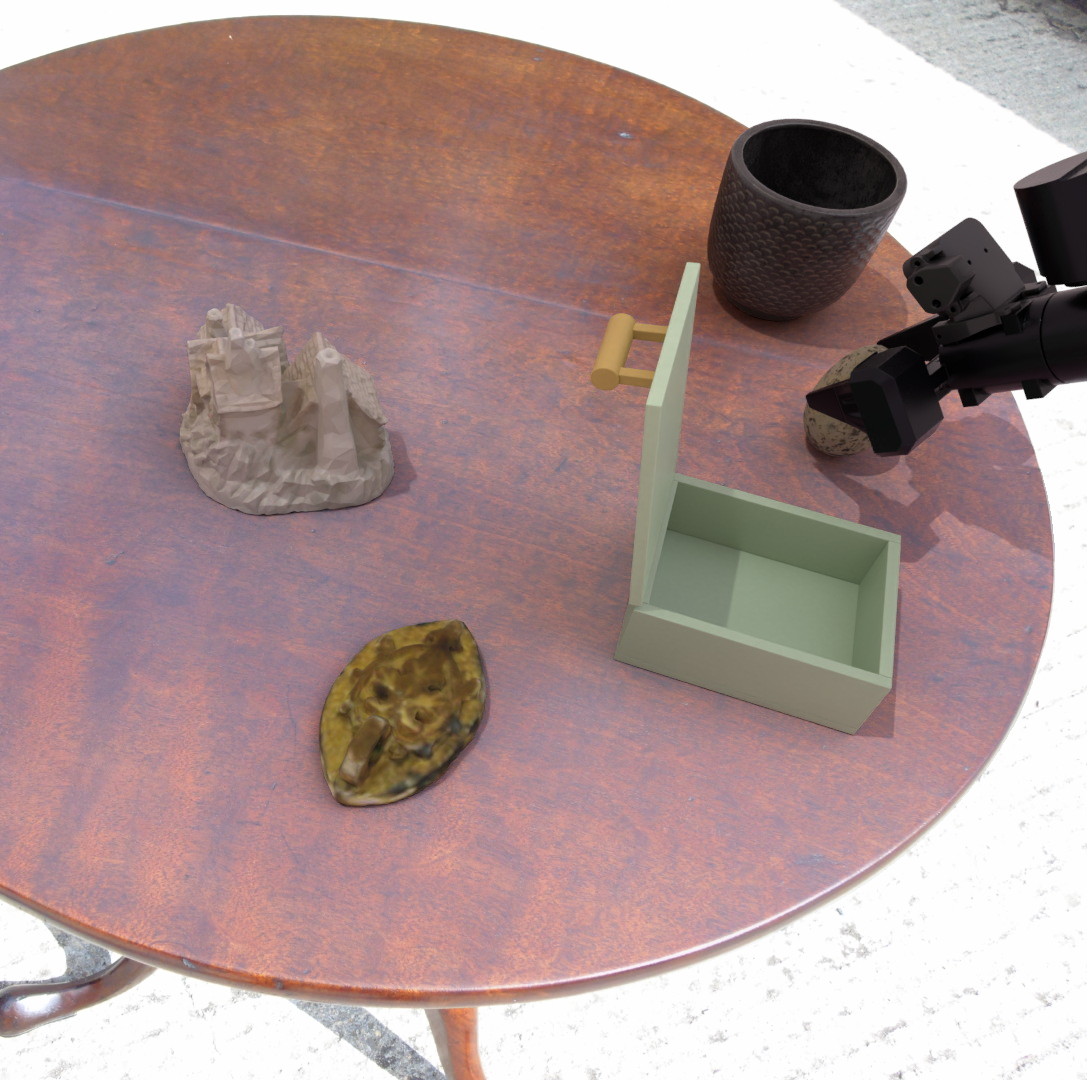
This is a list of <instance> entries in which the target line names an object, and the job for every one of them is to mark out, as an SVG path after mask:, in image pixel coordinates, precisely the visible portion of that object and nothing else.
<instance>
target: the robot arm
mask: <svg viewBox="0 0 1087 1080" xmlns="http://www.w3.org/2000/svg"><path fill="white" fill-rule="evenodd" d="M1012 188H1013V191H1014V195H1015V198H1016V201H1017V204H1018V207H1019V210H1020V214H1021V217H1022V220H1023V223H1024V228H1025V230H1026V233H1027V237H1028V240H1029V243H1030V246H1031V250H1032V252H1033V253H1032V254H1033V256H1034V259H1035V263H1036V265H1037V268H1038V272H1039V275H1040V276H1041V277H1043V278H1045V280H1040V281H1038V279H1037V275H1036V273H1035V270H1034V269H1032V268H1030V267H1029V266H1027V265H1024V264H1023V263H1021V262H1019V261H1017V260H1016V261H1012V260H1011V259H1010V257H1009V256H1008V255H1007V253H1006V252H1005V251H1004V250H1003V249H1002V247H1001V246H1000V245H999V243H998V242H997V241H996V239H995V238H994V237H993V235H992V234H991V233H990V232H989V230H988V229H987V228H986V226H985V225H984V224H983V223H982V222H981V221H980V220H979V219H976V218H974V217H966V218H964V219H963V220H961V221H960V222H958V223H957V224H956V225H954V226H952V228H951V227H950V229H948V230H947V231H946V232H944V233H943V234H942V235H940V236H938V237H937V238H936V239H934V240H933V241H931V242H930V243H929V244H927V245H926V246H924V247H923V248H921V249H920V250H919V251H917V252H916V253H914V254H913V255H912V256H910V257H909V258H907V259H906V260H905V261H903V264H902V274H903V276H904V278H905V279H906V282H905V283H906V284H905V286H906V289H907V291H908V292H909V293H910V295H911V296H912V297H913V298H914V300H915V301H916V302H917V303H918V305H919V306H920V307H921V309H922V310H923V311H924V312H925V313H926V314H930V315H931V316H930V317H927V318H924V319H923V320H920V321H918V322H916V323H914V324H912V325H910V326H907V327H905V328H903V329H901V330H899V331H896V332H894V333H892V334H889V335H887V336H885V337H884V338H881V339H879V340H878V341H877V342H876V343H875V345H881V346H884V347H886V348H888V350H885V351H883V352H880V353H878V352H877V351H876V352H874V353H873V354H872V355H870V356H869V357H868V358H866V359H865V360H864V361H862V362H861V363H859V364H858V365H857V366H856V367H855V368H854V369H853V371H852V372H851V375H850V378H849V379H846V380H843V381H840V382H837V383H834V384H831V385H828V386H825V387H823V388H820V389H817V390H815V391H812V390H811V391H810V392H807V394H805V400H806V402H807V403H808V405H809V407H810V408H811V409H813V410H816V411H818V412H820V413H823V414H825V415H827V416H830V417H832V418H834V419H837V420H839V421H841V422H844V423H846V424H848V425H850V426H852V427H855V428H857V429H858V430H860V431H862V432H864V433H866V434H867V435H868V437H869V440H870V443H871V446H870V447H871V448H872V451H873V453H874V455H877V456H879V457H880V458H888V457H899V456H908V455H909V454H911V453H912V452H913V451H914V450H916V449H917V448H918V447H919V446H920V445H921V444H922V443H924V442H925V441H927V439H928V438H930V437H931V436H932V435H933V434H934V433H935V432H937V429H938V428H939V427H940V425H941V424H942V422H943V421H944V419H945V416H944V413H943V410H942V407H941V404H940V401H941V400H943V399H944V398H946V396H948V395H949V394H950V393H951V392H952V391H956V390H957V393H958V397H959V399H960V402H961V404H962V405H961V406H962V407H963V408H970V407H979V406H980V405H981V404H982V403H983V402H985V401H986V400H987V399H988V398H990V397H991V396H992V395H993V394H999V393H1000V394H1001V393H1007V392H1015V391H1023V393H1024V397H1025V400H1027V401H1030V400H1038V399H1044V398H1045V397H1046V396H1047V395H1049V394H1050V393H1051V392H1052V391H1053V390H1054V389H1055V388H1056V387H1058V386H1061V385H1068V384H1069V385H1070V384H1077V383H1085V382H1087V150H1086V151H1083V152H1080V153H1077V154H1074V155H1071V156H1069V157H1066V158H1063V159H1061V160H1058V161H1056V162H1054V163H1051V164H1049V165H1046V166H1045V167H1042V168H1040V169H1037V170H1036V171H1034V172H1032V173H1029V174H1028V175H1026V176H1024V177H1023V178H1021V179H1019V180H1018V181H1016V182H1015V183H1014V184H1013V187H1012ZM1062 285H1063V286H1065V287H1066V288H1070V289H1065V290H1058V289H1057V286H1062ZM926 362H927V363H926Z"/></svg>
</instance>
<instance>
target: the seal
mask: <svg viewBox="0 0 1087 1080" xmlns="http://www.w3.org/2000/svg"><path fill="white" fill-rule="evenodd" d="M486 686H487V685H486V675H485V672H484V665H483V660H482V656H481V652H480V648H479V646H478V643H477V641H476V638H475V637H474V635H473V634H472V631H471V630H470V628H469V627H468V626H467V625H466V623H465V622H464V621H462V620H460V619H457V618H452V619H451V618H449V619H441V620H434V621H431V622H429V621H428V622H419V623H416V624H412V625H404V626H402V627H399V628H396V629H393V630H390V631H387V632H385V633H383V634H380V635H378V636H376V637H374V639H372V640H370V641H369V642H367V643H366V644H365V645H363V646H362V647H361V649H360V650H359V651H358V652H357V653H356V654H355V655H354V656H353V657H352V658H351V659H350V660H349V661H348V662H347V664H346V666H345V667H344V669H343V670H342V671H341V673H340V674H339V675H338V676H337V677H336V679H335V681H334V683H333V684H332V685H331V688H330V690H329V692H328V694H327V695H326V698H325V701H324V703H323V707H322V710H321V715H320V720H319V725H318V751H319V759H320V763H321V768H322V772H323V775H324V779H325V781H326V783H327V786H328V788H329V790H330V792H331V795H332V797H333V798H334V799H335V801H336V802H337V803H339V804H342V805H345V806H352V807H353V806H355V807H356V806H357V807H366V806H380V805H388V804H390V803H395V802H398V801H401V800H404V799H406V798H409V797H411V796H413V795H416V794H418V793H420V792H422V791H423V790H424V789H426V788H428V787H429V786H431V785H433V784H434V783H436V782H437V781H438V780H440V779H441V777H442V776H444V774H445V773H446V772H447V771H448V770H449V768H450V766H451V764H453V762H454V761H455V760H457V758H458V756H459V755H460V754H461V753H462V752H463V750H464V749H465V748H466V747H467V746H468V745H470V743H472V741H473V739H474V738H475V737H474V736H475V734H476V731H477V730H478V729H479V727H480V725H481V722H482V719H483V716H484V712H485V708H486V701H487V689H486V688H487V687H486Z"/></svg>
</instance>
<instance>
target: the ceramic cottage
mask: <svg viewBox="0 0 1087 1080" xmlns="http://www.w3.org/2000/svg"><path fill="white" fill-rule="evenodd" d="M205 316H206V317H205V323H204V324H203V325H202V326H200V328H199V330H198V332H196V336H197V339H193V340H187V341H186V344H185V348H186V355H187V359H188V371H189V377H190V385H191V386H190V387H191V393H190V397H189V400H190V401H189V403H188V405H187V408H186V411H185V412H183V413H181V425H180V428H179V438H178V440H179V443H180V446H181V450H182V453H183V454H184V456H185V459H186V460H187V461H186V462H187V466H188V469H189V470H190V473H191V474H192V476H193V479H194V480H195V481H196V483H198V487H199V488H200V490H201V491H202V492H204V493H205V495H206V497H209V498H210V499H212V500H214V502H217V503H219V504H220V505H221V504H222V505H224V506H225V507H226V508H230V509H231V510H238V511H240V512H242V513H245V514H248V515H255V516H258V515H259V516H260V515H266V516H269V515H270V516H271V515H277V514H279V515H283V514H284V515H286V514H290V513H291V512H297V513H299V512H316V511H322V510H326V509H328V510H335V509H347V508H348V507H355V506H357V507H358V506H360V505H364V504H367V503H369V502H371V501H372V500H374V499H376V498H378V497H380V496H381V495H383V493H384V491H385V490H387V488H388V487H389V485H390V484H391V482H392V479H393V477H394V476H395V465H394V463H395V460H394V457H393V452H392V445H391V442H390V436H389V435H390V434H389V431H388V430H387V429H386V428H385V425H387V424H388V423H389V420H388V417H386V415H385V411H384V408H383V406H382V405H381V404H382V403H381V402H380V398H379V394H378V393H379V392H378V389H377V387H376V383H375V379H374V378H373V377H372V375H371V374H370V373H369V372H368V371H367V370H365V368H364V367H362V366H359V365H358V364H356V363H354V362H353V361H351V360H350V358H349V357H347V356H346V355H344V354H343V353H340V352H339V351H338V350H337V348H336V346H335V345H333V344H331V342H330V341H329V340H328V338H326V337H324V336H323V334H322V332H320V331H315V332H313V333H312V334H311V337H310V338H309V340H308V341H306V343H305V344H304V345H303V346H302V347H301V349H300V351H299V352H298V354H297V355H296V356H295V358H294V360H293V361H292V363H289V358H288V351H287V345H286V342H285V340H284V337H283V335H284V332H285V330H284V327H283V324H280V325H278V326H274V327H270V328H267V329H265V327H264V325H263V324H262V323H261V322H260V321H259V320H257V319H256V318H255V317H253V316H251V315H249V314H248V313H247V312H246V311H244V310H243V309H242V308H241V306H239V305H236V304H235V303H229V302H228V303H226V304H225V307H223V308H222V309H221V310H220V309H219V308H216V307H213V308H211V309H210V310H207V313H206V315H205Z"/></svg>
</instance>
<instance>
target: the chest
mask: <svg viewBox="0 0 1087 1080" xmlns="http://www.w3.org/2000/svg"><path fill="white" fill-rule="evenodd" d="M901 547H902V535H901V534H898V533H894V532H890V531H887V530H884V529H880V528H876V527H873V526H869V525H865V524H862V523H859V522H855V521H852V520H848V519H844V518H840V517H836V516H833V515H830V514H827V513H826V514H825V513H822V512H819V511H815V510H812V509H807V508H804V507H800V506H797V505H794V504H790V503H787V502H783V501H779V500H776V499H772V498H769V497H765V496H761V495H757V494H754V493H750V492H748V491H744V490H740V489H736V488H733V487H729V486H726V485H722V484H719V483H715V482H712V481H708V480H704V479H701V478H698V477H693V476H690V475H687V474H683V473H680V472H676V471H675V474H674V478H673V482H672V486H671V490H670V494H669V498H668V502H667V506H666V510H665V514H664V518H663V522H662V526H661V530H660V534H659V538H658V542H657V546H656V550H655V554H654V558H653V562H652V566H651V571H650V575H649V579H648V583H647V587H646V591H645V595H644V599H643V603H642V606H637V605H631V604H629V600H628V601H627V605H626V609H625V613H624V617H623V620H622V625H621V628H620V631H619V636H618V640H617V644H616V647H615V652H614V655H613V660H615V661H617V662H621V663H624V664H627V665H631V666H633V667H637V668H640V669H643V670H646V671H649V672H653V673H656V674H659V675H662V676H666V677H668V678H671V679H675V680H677V681H681V682H684V683H688V684H690V685H694V686H698V687H700V688H703V689H706V690H710V691H713V692H716V693H719V694H722V695H726V696H729V697H732V698H735V699H738V700H741V701H744V702H747V703H751V704H754V705H757V706H760V707H764V708H767V709H769V710H773V711H776V712H778V713H783V714H786V715H789V716H792V717H795V718H798V719H802V720H804V721H807V722H810V723H813V724H817V725H821V726H823V727H827V728H830V729H832V730H835V731H838V732H843V733H845V734H849V735H852V736H855V734H856V733H857V732H858V731H859V730H860V728H861V727H862V725H863V724H864V723H865V722H867V720H868V718H870V716H871V715H872V714H873V712H874V711H875V710H876V709H877V707H878V706H880V704H881V702H882V701H883V700H884V699H885V698H886V696H887V695H888V694H889V693H890V691H891V690H892V687H893V677H894V676H893V675H894V662H895V661H894V660H895V646H896V645H895V644H896V630H897V629H896V628H897V612H898V596H899V595H898V594H899V581H900V580H899V579H900V564H901V549H902V548H901Z"/></svg>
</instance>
